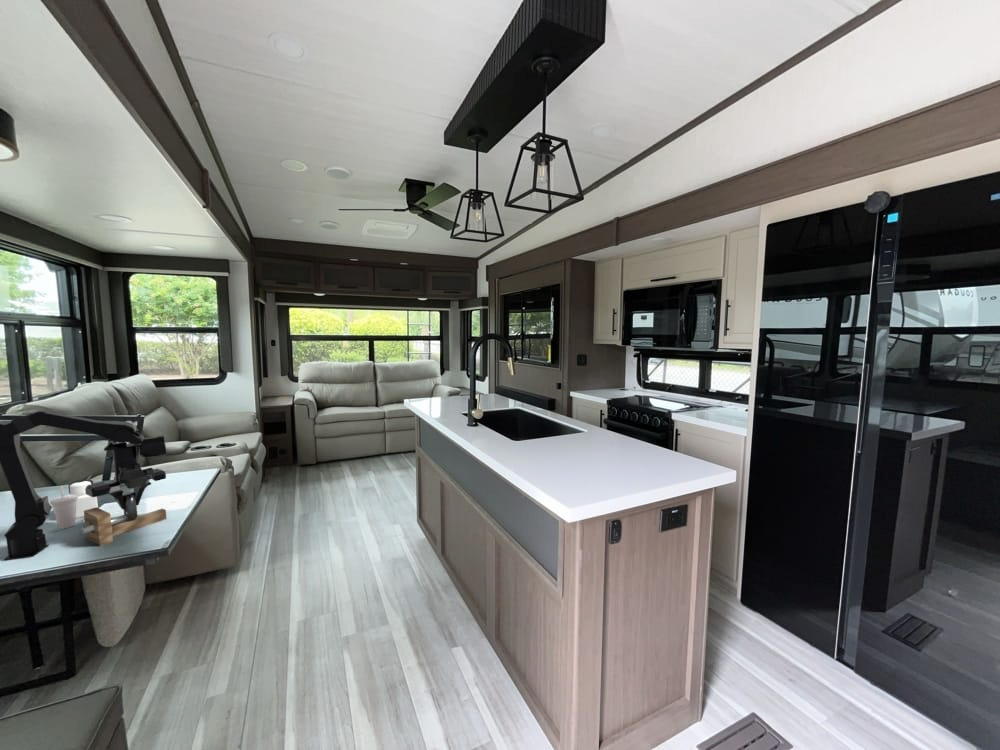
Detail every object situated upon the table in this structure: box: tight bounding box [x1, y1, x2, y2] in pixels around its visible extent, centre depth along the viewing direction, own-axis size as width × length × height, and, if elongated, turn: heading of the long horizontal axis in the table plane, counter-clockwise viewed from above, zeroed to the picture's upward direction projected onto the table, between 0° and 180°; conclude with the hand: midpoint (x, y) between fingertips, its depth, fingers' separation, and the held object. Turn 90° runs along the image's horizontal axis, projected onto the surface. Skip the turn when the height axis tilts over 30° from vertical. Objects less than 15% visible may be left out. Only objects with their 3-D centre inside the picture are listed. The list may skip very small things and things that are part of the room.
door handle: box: [81, 491, 139, 535], centre depth 128 cm, size 13×3×8 cm, turn 152°
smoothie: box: [49, 485, 78, 530], centre depth 134 cm, size 6×6×14 cm
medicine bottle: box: [68, 479, 99, 519], centre depth 143 cm, size 7×7×12 cm
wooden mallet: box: [84, 507, 167, 547], centre depth 132 cm, size 18×10×9 cm, turn 152°
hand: (130, 507), depth 132 cm, fingers closed on door handle, 3 cm apart
